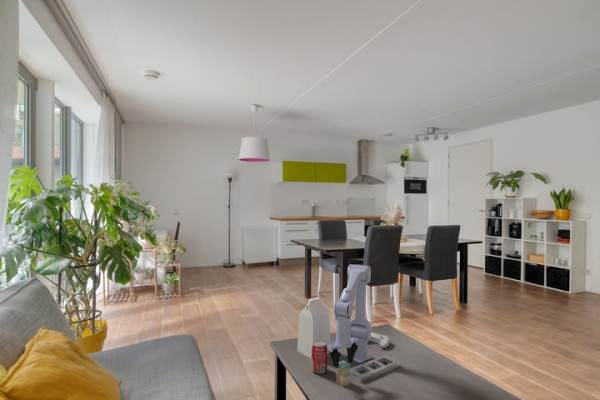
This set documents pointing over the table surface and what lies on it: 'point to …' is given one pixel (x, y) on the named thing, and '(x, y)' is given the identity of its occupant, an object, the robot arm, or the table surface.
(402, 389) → the table surface
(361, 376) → the grey compartment tray
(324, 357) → the soda can
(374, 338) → the game controller
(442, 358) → the table surface
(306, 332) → the milk
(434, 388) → the table surface
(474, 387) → the table surface
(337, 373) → the peg
